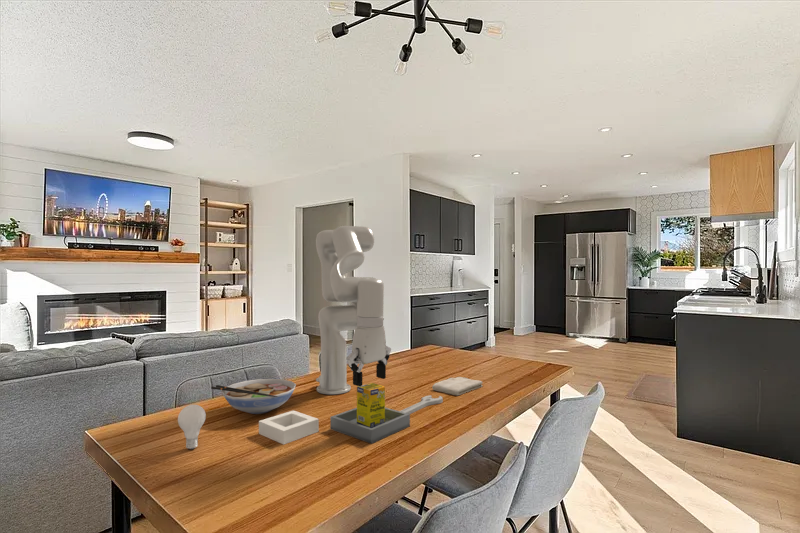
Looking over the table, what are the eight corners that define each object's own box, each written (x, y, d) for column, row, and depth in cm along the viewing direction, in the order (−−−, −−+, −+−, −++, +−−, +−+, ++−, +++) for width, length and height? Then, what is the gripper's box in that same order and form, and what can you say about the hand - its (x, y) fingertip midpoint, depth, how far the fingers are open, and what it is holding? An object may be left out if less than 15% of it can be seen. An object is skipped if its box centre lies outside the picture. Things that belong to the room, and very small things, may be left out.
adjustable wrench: (397, 422, 127) (397, 416, 127) (381, 417, 132) (381, 411, 132) (445, 402, 146) (445, 397, 146) (430, 398, 150) (430, 393, 150)
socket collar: (258, 433, 117) (258, 420, 117) (293, 422, 126) (293, 410, 126) (283, 444, 110) (283, 430, 110) (318, 431, 119) (318, 418, 119)
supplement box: (369, 429, 118) (369, 390, 118) (356, 424, 122) (356, 386, 122) (385, 424, 122) (385, 386, 122) (372, 419, 126) (372, 382, 126)
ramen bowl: (313, 405, 142) (313, 380, 142) (264, 428, 121) (264, 399, 121) (256, 396, 152) (256, 373, 152) (202, 416, 132) (202, 389, 132)
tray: (330, 429, 120) (330, 416, 120) (369, 414, 133) (369, 403, 133) (371, 443, 110) (371, 430, 110) (409, 426, 123) (409, 414, 123)
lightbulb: (184, 444, 110) (184, 401, 110) (209, 443, 111) (209, 400, 111) (173, 454, 104) (173, 409, 104) (200, 453, 104) (200, 408, 105)
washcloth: (484, 387, 165) (484, 379, 165) (458, 397, 151) (458, 389, 152) (458, 382, 173) (458, 374, 173) (431, 391, 159) (431, 383, 159)
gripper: (380, 317, 131) (380, 373, 131) (338, 324, 118) (338, 385, 118) (399, 320, 126) (398, 377, 127) (357, 327, 113) (357, 391, 113)
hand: (369, 381), depth 122 cm, fingers open, 9 cm apart
